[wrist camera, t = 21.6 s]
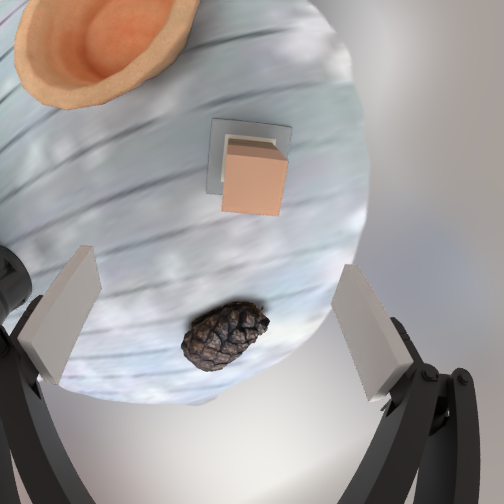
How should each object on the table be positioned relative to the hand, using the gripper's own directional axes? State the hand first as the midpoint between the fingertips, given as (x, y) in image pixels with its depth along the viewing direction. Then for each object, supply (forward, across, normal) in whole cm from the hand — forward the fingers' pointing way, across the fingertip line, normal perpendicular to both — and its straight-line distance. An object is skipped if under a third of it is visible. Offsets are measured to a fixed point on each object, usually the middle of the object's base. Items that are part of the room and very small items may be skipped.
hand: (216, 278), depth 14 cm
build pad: (+29, -3, 0) cm, 29 cm away
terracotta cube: (+22, -3, 0) cm, 22 cm away
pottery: (+29, +15, -19) cm, 38 cm away
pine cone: (+29, -2, +31) cm, 43 cm away
